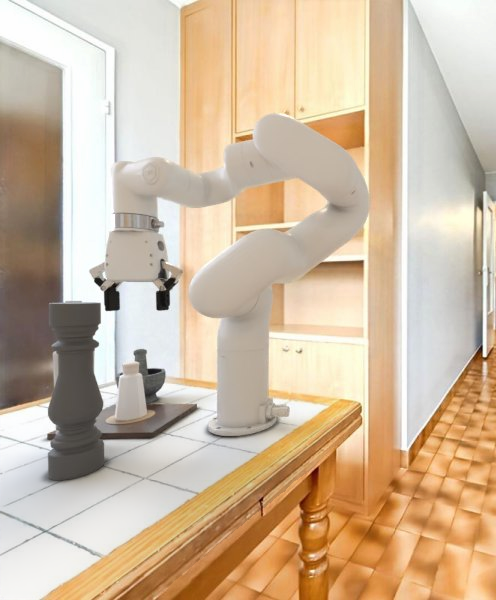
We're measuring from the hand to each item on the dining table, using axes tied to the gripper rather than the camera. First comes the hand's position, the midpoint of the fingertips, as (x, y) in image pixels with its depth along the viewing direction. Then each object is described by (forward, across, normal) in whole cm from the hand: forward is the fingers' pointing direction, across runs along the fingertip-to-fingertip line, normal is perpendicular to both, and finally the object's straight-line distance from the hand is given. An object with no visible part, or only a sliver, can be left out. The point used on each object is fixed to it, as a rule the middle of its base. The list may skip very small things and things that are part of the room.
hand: (137, 310), depth 71 cm
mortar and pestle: (+23, +8, -13) cm, 28 cm away
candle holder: (+23, -3, +20) cm, 31 cm away
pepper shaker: (+22, +1, +1) cm, 22 cm away
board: (+23, +1, +1) cm, 23 cm away
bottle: (+23, +2, +13) cm, 26 cm away
